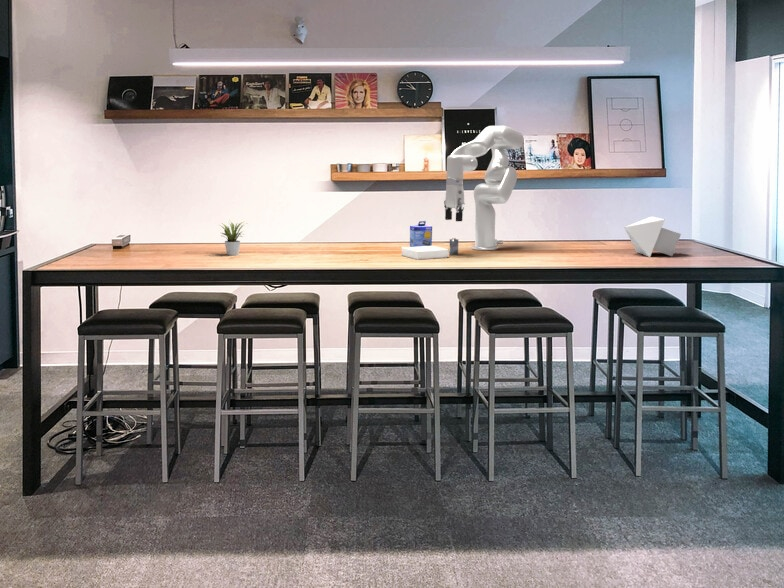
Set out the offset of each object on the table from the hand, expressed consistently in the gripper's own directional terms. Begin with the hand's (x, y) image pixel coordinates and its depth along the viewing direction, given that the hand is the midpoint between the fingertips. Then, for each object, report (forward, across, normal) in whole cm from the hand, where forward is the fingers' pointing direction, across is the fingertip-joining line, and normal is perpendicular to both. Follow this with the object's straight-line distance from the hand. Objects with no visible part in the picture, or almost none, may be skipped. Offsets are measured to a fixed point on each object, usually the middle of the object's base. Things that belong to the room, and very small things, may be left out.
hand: (453, 220), depth 368 cm
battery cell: (+16, 0, -1) cm, 16 cm away
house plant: (+17, +44, +90) cm, 102 cm away
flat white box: (+16, 0, +14) cm, 21 cm away
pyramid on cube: (+15, -39, -82) cm, 92 cm away
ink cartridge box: (+16, +18, +7) cm, 25 cm away
